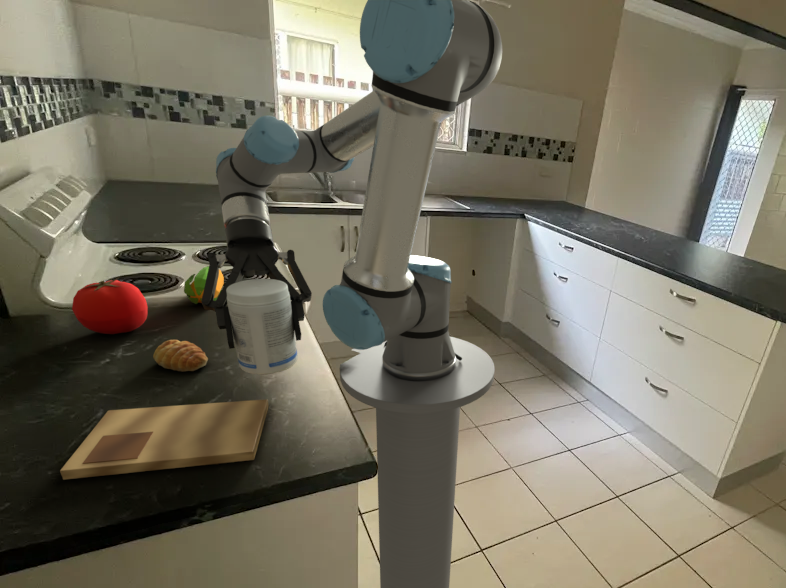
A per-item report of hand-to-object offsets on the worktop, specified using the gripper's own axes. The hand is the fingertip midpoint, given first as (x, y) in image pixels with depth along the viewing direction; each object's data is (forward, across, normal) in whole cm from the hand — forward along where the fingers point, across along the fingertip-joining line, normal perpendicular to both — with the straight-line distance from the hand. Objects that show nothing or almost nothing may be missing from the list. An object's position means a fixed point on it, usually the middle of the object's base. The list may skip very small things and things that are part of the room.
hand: (266, 341), depth 80 cm
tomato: (-18, +26, -31) cm, 44 cm away
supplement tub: (+2, 0, -6) cm, 7 cm away
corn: (-31, +10, -44) cm, 54 cm away
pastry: (-4, +14, -18) cm, 23 cm away
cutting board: (+14, +13, +1) cm, 19 cm away
